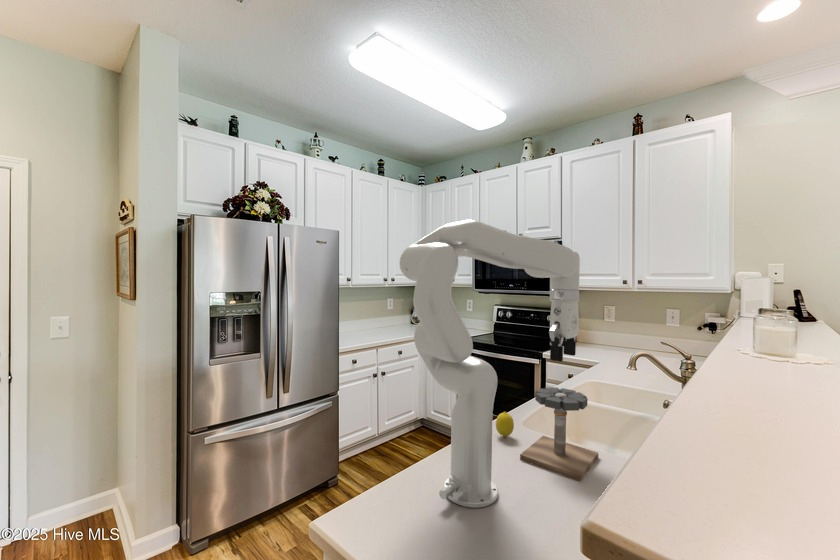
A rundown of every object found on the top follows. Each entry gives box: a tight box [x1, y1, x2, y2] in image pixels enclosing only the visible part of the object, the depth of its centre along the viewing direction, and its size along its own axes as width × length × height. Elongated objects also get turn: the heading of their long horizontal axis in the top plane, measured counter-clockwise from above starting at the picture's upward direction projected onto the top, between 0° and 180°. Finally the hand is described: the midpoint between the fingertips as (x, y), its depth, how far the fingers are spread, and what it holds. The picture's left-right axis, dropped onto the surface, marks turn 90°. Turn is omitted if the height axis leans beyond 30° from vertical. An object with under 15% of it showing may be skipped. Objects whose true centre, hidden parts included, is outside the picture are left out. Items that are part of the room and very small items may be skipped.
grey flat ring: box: [534, 387, 589, 412], centre depth 102 cm, size 13×13×2 cm
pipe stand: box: [519, 393, 599, 482], centre depth 103 cm, size 16×16×18 cm
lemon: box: [495, 411, 515, 438], centre depth 116 cm, size 6×6×8 cm
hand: (563, 357), depth 102 cm, fingers open, 9 cm apart
